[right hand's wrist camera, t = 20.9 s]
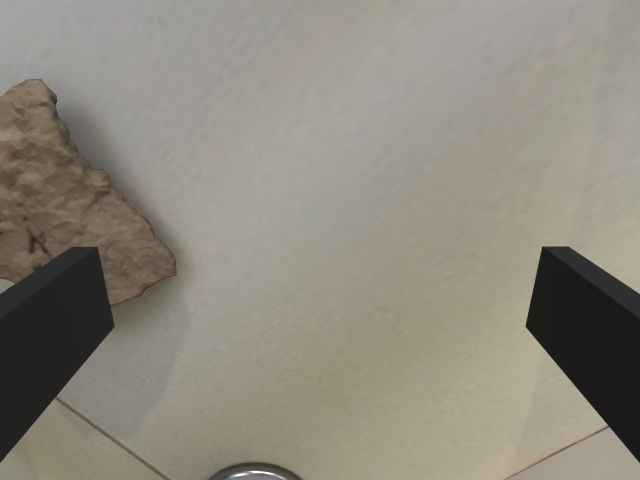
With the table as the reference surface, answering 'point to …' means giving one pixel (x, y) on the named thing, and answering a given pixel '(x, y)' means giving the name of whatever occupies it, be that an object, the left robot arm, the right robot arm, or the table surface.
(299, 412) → the table surface
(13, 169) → the stone
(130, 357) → the table surface
